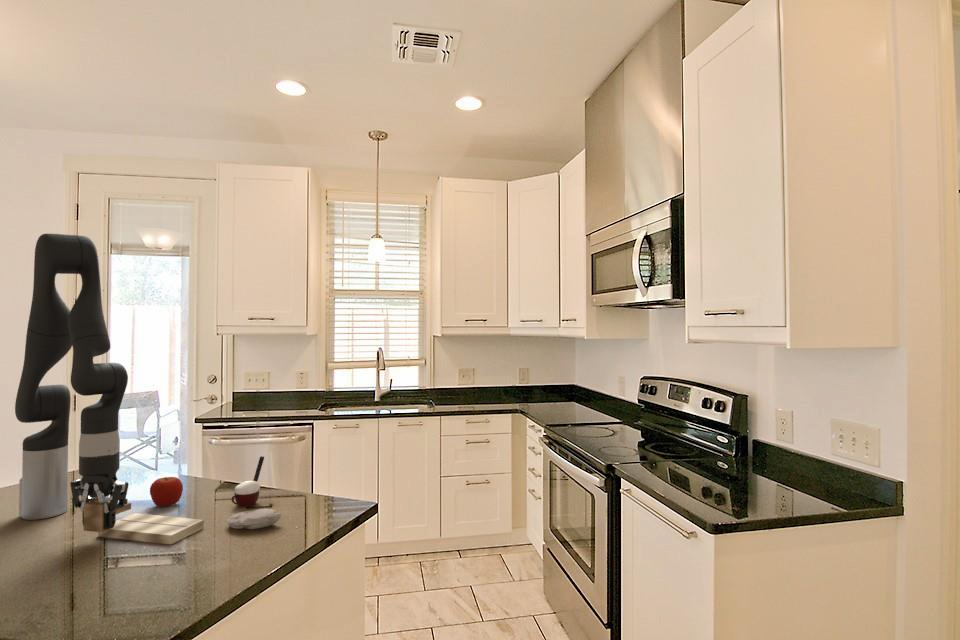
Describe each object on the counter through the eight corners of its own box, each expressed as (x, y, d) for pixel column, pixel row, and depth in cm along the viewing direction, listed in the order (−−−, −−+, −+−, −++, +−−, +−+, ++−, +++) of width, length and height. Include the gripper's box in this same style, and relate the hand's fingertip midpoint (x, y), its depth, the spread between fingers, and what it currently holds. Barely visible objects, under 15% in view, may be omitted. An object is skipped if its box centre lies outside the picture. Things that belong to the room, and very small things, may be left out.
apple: (159, 512, 141) (159, 482, 141) (143, 506, 145) (143, 477, 145) (188, 503, 147) (188, 475, 148) (172, 499, 152) (172, 471, 152)
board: (98, 536, 124) (98, 527, 124) (134, 521, 134) (134, 513, 134) (171, 544, 120) (171, 535, 120) (203, 528, 130) (203, 519, 130)
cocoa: (233, 511, 142) (231, 467, 142) (227, 504, 147) (226, 461, 147) (270, 503, 148) (269, 460, 148) (264, 496, 153) (262, 455, 153)
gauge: (83, 530, 120) (83, 500, 120) (119, 517, 129) (119, 488, 129) (101, 532, 119) (101, 501, 119) (136, 518, 128) (136, 489, 128)
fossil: (217, 513, 129) (249, 503, 138) (217, 531, 128) (249, 520, 138) (257, 516, 124) (287, 506, 134) (257, 535, 124) (287, 523, 133)
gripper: (57, 453, 120) (57, 531, 119) (110, 456, 116) (109, 536, 116) (89, 446, 127) (89, 519, 126) (139, 449, 124) (139, 524, 123)
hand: (99, 527), depth 121 cm, fingers closed on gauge, 5 cm apart
